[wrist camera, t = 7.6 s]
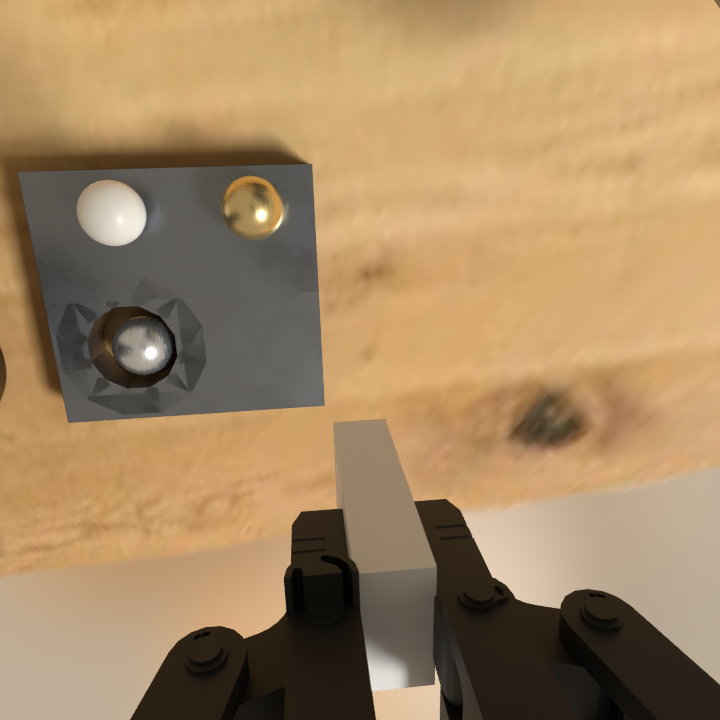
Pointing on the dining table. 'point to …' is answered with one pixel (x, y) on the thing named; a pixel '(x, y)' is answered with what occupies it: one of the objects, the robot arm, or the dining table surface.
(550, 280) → the dining table surface
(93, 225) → the white plastic ball
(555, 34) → the dining table surface
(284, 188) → the plate
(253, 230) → the brass ball
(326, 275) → the dining table surface
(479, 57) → the dining table surface
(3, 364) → the water bottle
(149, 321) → the steel ball
